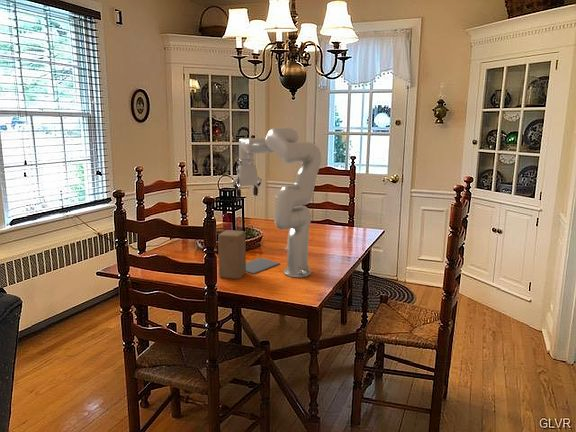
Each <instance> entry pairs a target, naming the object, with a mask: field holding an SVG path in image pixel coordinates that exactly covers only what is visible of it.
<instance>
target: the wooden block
mask: <svg viewBox="0 0 576 432" xmlns="http://www.w3.org/2000/svg"><path fill="white" fill-rule="evenodd" d="M217 238H218V239H217V243H218V244H217V246H218V247H217V249H218V277H219V278H224V279H232V280H233V279H235V280H240V279H241V278H242V277H243V276H244V275H245V274H246V273H247V272H246V262H247V260H246V259H247V257H246V252H247V251H246V250H247V249H246V247H247V246H246V245H247V243H246V241H247V240H246V239H247V238H246V231H244V230H231V229H226V230H224V231H222V232H220V233H219V234H218V236H217Z"/></svg>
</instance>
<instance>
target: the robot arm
mask: <svg viewBox="0 0 576 432" xmlns="http://www.w3.org/2000/svg"><path fill="white" fill-rule="evenodd" d="M265 136H266V137H256V138H255V137H252V138H251V137H250V138H249V137H241V138H239V140H238V160H237V161H236V164H238V165H237V169H236V170H237V172H236V178H234V179H232V180H231V182H230V183H231V184H232V186H233V188H234V189H235V190H236V191H235V192H236V194H235V195H236V197H237V198H242V189H241V188H242V187H247V186H249V187H250V186H253V191H252V193H253V196H258V194H259V188H260V186H261V184H262V181H263V178H261V177H259V176H258V169H257V165H255V155H256V154H257V155H258V154H269V153H275V154H276V155H277V156H278V157H279V158H280V160H281V161H283V162H285V163H286V164H293V163H294V164H295V163H297V164H298V163H303V164H302V165H301V166H300V167H299V169H298V171H297V173H296V177H295V178H296V179H295V182H294V183H293V184H287V185H284V186H282V187H281V188H280V190H279V191H278V193H277V198H276V204H275V208H274V209H275V210H274V214H273V215H274V216H273V220H274V221H273V222H274V225H275V226H276V228H277V229H279V230H282V231H286V230H288V234H287V246H286V247H287V249H286V251H287V254H286V255H287V256H286V257H287V267H286V268H284V270H283V274H284V275H286V277H287V276H288V277H290V278H296V279H297V278H298V279H299V278H307V277H309V276H310V275H312V270H311V269H310V268H309V239H310V238H309V237H310V236H309V235H310V226H311V222H312V212H311V210H310V208H308V207H307V206H306V205H308V204H310V203H311V201H312V199H313V194H314V190H315V185H316V179H317V175H318V173H319V170H320V167H321V163H322V153H321V150H320V148H319V146H318V145H317V144H315V143H312V142H311V141H310V142H309V141H302V142H301V141H299V137H300V136H299V134H298V132H297V130H296V129H294V128H291V127H273V128H271V129H269V131H268V132H267V134H266V135H265ZM298 141H299V142H298Z"/></svg>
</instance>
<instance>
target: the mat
mask: <svg viewBox="0 0 576 432" xmlns="http://www.w3.org/2000/svg"><path fill="white" fill-rule="evenodd" d="M280 264H281V263H280V262H278V261H274V260H271V259H266V258H263V257H258V258H255V259H252V260H250V261H246V272H245V273H248V274H250V275H256V274H258V273H260V272H263V271H266V270H268V269H272V268H274V267H277V266H279V265H280Z"/></svg>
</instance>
